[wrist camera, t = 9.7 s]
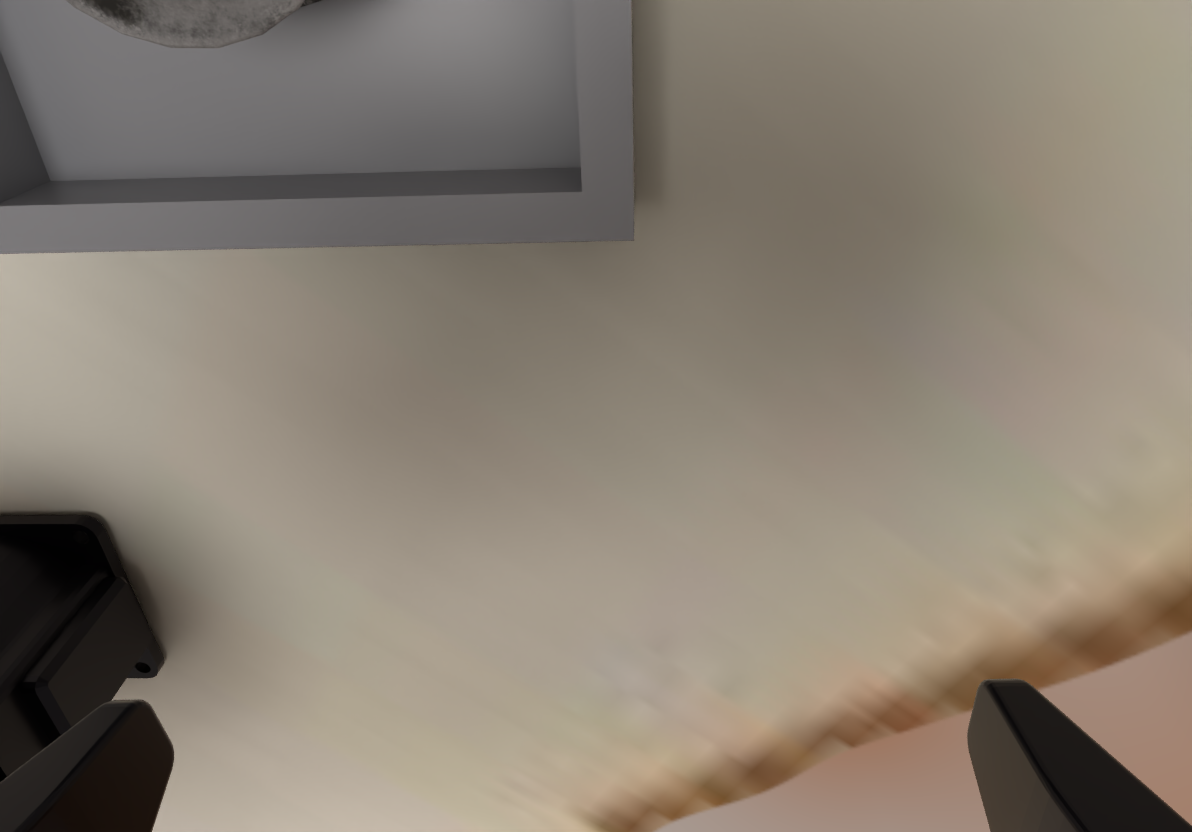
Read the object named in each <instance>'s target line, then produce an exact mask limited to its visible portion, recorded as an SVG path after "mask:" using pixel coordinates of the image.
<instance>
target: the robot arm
mask: <svg viewBox="0 0 1192 832" xmlns="http://www.w3.org/2000/svg"><path fill="white" fill-rule="evenodd" d="M85 533H86V534H85ZM163 664H164V658H163V656H162V653H161V651H160V649H159V647H158V645H157V642H156V640H155V638H154V636H153V634H152V631H151V629H150V627H149V625H148V623H147V620H146V618H145V616H144V614H143V612H142V609H141V607H140V605H139V603H138V600H137V598H136V596H135V594H134V592H133V589H132V587H131V585H130V583H129V581H128V578H127V576H126V574H125V572H124V570H123V567H122V565H121V563H120V561H119V559H118V556H117V554H116V552H115V550H114V548H113V545H112V543H111V541H110V539H109V537H108V534H107V532H106V530H105V528H104V527H103V525H102V524H101V523H100V522H99V521H97V520H96V519H94V518H92V517H90V516H84V515H0V832H152V830H153V827H154V823H155V820H156V817H157V814H158V811H159V808H160V805H161V802H162V799H163V796H164V793H165V790H166V786H167V783H168V780H169V777H170V774H171V771H172V767H173V762H174V749H173V745H172V743H171V741H170V739H169V737H168V735H167V733H166V732H165V730H164V728H163V726H162V724H161V723H160V721H159V719H158V717H157V715H156V714H155V712H154V710H153V708H152V707H151V705H150V704H149V703H147V702H146V701H144V700H114V701H111V700H112V699H113V697H114V696H115V694H116V693H117V691H118V690H119V688H120V687H121V685H122V684H123V682H124V681H125V679H126V678H152V677H155V676H156V675H157V674H158V672H159V671H160V669H161V668H162V666H163ZM967 737H968V748H969V753H970V757H971V761H972V765H973V769H974V772H975V776H976V779H977V783H978V787H979V791H980V794H981V798H982V801H983V805H984V809H985V813H986V816H987V820H988V824H989V827H990V831H991V832H1192V826H1191V825H1190V824H1189V823H1188V822H1187V821H1185V820H1184V819H1183V818H1182V817H1181V816H1180V815H1179V814H1178V813H1177V812H1175V811H1174V810H1173V809H1172V808H1171V807H1170V806H1169V805H1167V804H1166V803H1165V802H1164V801H1163V800H1162V799H1161V798H1159V797H1158V796H1157V795H1156V794H1155V793H1154V792H1153V791H1152V790H1150V789H1149V788H1148V787H1147V786H1146V785H1145V784H1143V783H1142V782H1141V781H1140V780H1139V779H1138V778H1137V777H1136V776H1134V775H1133V774H1132V773H1131V772H1130V771H1128V770H1127V769H1126V768H1125V767H1124V766H1123V765H1122V764H1121V763H1120V762H1118V761H1117V760H1116V759H1115V758H1114V757H1113V756H1112V755H1110V754H1109V753H1108V752H1107V751H1106V750H1105V749H1104V748H1102V747H1101V746H1100V745H1099V744H1098V743H1097V742H1096V741H1095V740H1093V739H1092V738H1091V737H1090V736H1089V735H1088V734H1086V733H1085V732H1084V731H1083V730H1082V729H1081V728H1080V727H1079V726H1077V725H1076V724H1075V723H1074V722H1073V721H1072V720H1070V719H1069V718H1068V717H1067V716H1066V715H1065V714H1064V713H1063V712H1061V711H1060V710H1059V709H1058V708H1057V707H1056V706H1055V705H1053V704H1052V703H1051V702H1050V701H1049V700H1048V699H1047V698H1045V697H1044V696H1043V695H1042V694H1041V693H1040V692H1039V691H1038V690H1036V689H1035V688H1034V687H1033V686H1032V685H1030V684H1029V683H1027V682H1025V681H1023V680H1021V679H988V680H984V681H983V682H981V684H980V685H979V687H978V689H977V693H976V697H975V702H974V706H973V710H972V714H971V719H970V723H969V727H968V735H967Z"/></svg>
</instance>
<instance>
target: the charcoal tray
mask: <svg viewBox="0 0 1192 832" xmlns="http://www.w3.org/2000/svg"><path fill="white" fill-rule="evenodd" d="M589 241H634V135H633V49H632V0H322V1H319V2H316V3H312V4H309V5H306V6H303V7H300V8H299V9H297V10H296V11H295V12H293V13H292V14H291V15H289V16H288V17H286V18H285V19H284V20H282V21H281V22H280V23H278V24H277V25H275V26H274V27H273V28H271V29H270V30H269V31H267V32H266V33H264V34H263V35H260V36H256V37H253V38H250V39H247V40H244V41H240V42H237V43H234V44H231V45H228V46H224V47H221V48H169V47H166V46H162V45H159V44H155V43H152V42H148V41H145V40H141V39H138V38H134V37H131V36H127V35H124V34H121V33H120V32H118V31H116V30H114V29H112V28H111V27H109V26H107V25H105V24H103V23H102V22H100V21H98V20H96V19H94V18H93V17H91V16H89V15H87V14H85V13H84V12H82V11H80V10H78V9H76V8H75V7H73V6H72V5H71V4H70V3H69V2H67V1H66V0H0V254H18V253H65V252H113V251H161V250H208V249H256V248H303V247H351V246H399V245H446V244H494V243H541V242H589Z"/></svg>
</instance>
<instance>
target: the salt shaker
mask: <svg viewBox="0 0 1192 832" xmlns="http://www.w3.org/2000/svg"><path fill="white" fill-rule="evenodd" d="M66 1H67V2H69V3H70V4H71V5H72V6H73V7H75V8H76V9H78V10H80V11H82V12H84V13H85V14H87V15H89V16H91V17H93V18H94V19H96V20H98V21H100V22H102V23H103V24H105V25H107V26H109V27H111V28H112V29H114V30H116V31H118V32H120V33H121V34H124V35H127V36H131V37H134V38H138V39H141V40H145V41H148V42H152V43H155V44H159V45H162V46H166V47H169V48H221V47H224V46H228V45H231V44H234V43H237V42H240V41H244V40H247V39H250V38H253V37H256V36H260V35H263V34H264V33H266V32H267V31H269V30H270V29H271V28H273V27H274V26H275V25H277V24H278V23H280V22H281V21H282V20H284V19H285V18H286V17H288V16H289V15H291V14H292V13H293V12H295V11H296V10H297V9H299V8H300V7H303V6H306V5H309V4H312V3H316V2H319V1H322V0H66Z"/></svg>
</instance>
